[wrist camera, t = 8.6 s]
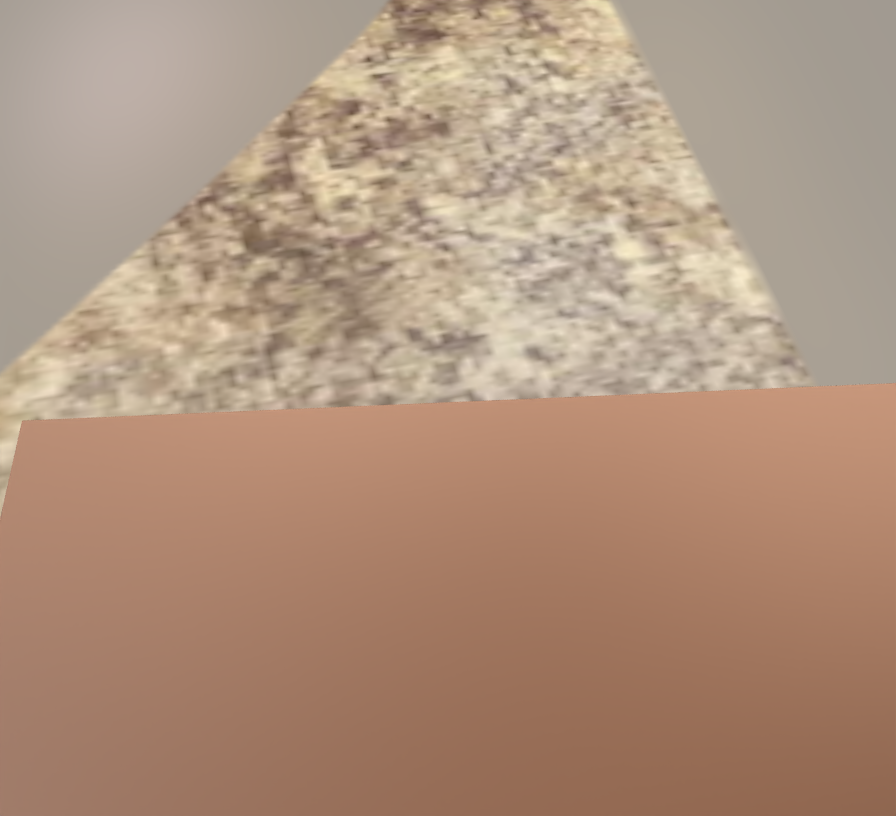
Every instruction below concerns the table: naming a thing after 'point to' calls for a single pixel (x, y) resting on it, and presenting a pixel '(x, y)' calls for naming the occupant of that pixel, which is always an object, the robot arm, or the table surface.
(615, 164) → the table surface
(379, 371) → the table surface
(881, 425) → the terracotta block
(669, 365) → the table surface
